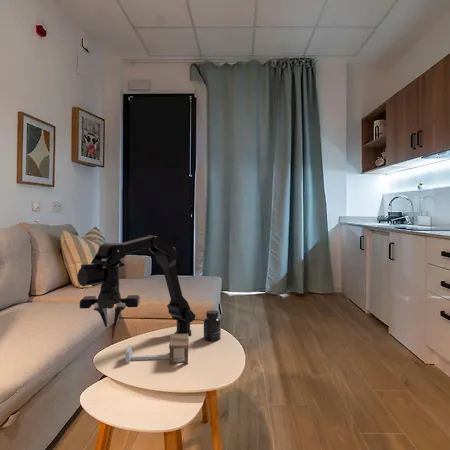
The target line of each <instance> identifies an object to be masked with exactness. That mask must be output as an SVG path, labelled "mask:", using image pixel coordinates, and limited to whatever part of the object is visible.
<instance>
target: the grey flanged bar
mask: <svg viewBox="0 0 450 450" xmlns="http://www.w3.org/2000/svg"><path fill="white" fill-rule="evenodd" d="M145 360H147V361H149V360H170V354H149V355H133V344H128V345H127V348H126V349H125V364H126V365H127V364H130V363H131V361H145ZM174 363H184V358H174Z"/></svg>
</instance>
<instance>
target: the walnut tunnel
mask: <svg viewBox="0 0 450 450" xmlns="http://www.w3.org/2000/svg"><path fill="white" fill-rule="evenodd" d="M169 337H170V339H169V342H168V343H169V344H168V349H169V355H170V359H169V365H170V366H174V364H175V362H174V349H177V348H184V362H183V364H184V365H189V346H190V345H189V344H190V343H189V341H190V340H189V339H190V338H189V337H190V336H189V333H186V334H176V333H171V334H170V336H169Z"/></svg>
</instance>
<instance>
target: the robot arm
mask: <svg viewBox="0 0 450 450" xmlns="http://www.w3.org/2000/svg"><path fill="white" fill-rule="evenodd" d="M146 249H148V250H149V251H150V252H151V253H152V254H153V255H154V258H155V261H156V262H157V263H158V265H159V266H160V267H161V268H162V270H163V271H162V272H163V275H164V278H165V283H166V285H167V289H168V293H169V297H170V301H169V303H168V304H166V307H167V309H168V314H169V315H170V316H171V319H172V320H175V321H176V330H175V334H186V333H189V337H192V329H191V323H193V322H194V321H196V320H195V319H196V314H195V313H194V312H193V311H192V310H191V306H190V304H189V301H187V299H186V298H185V297H184V296H183V292H182V289H181V288H182V287H181V285H180V280H179V276H178V273H177V269H176V262H177V260H178V258H177V250H176V247H174V246H172V245H170V244H169V243H167V242H165V241H164V240H162V239H161V238H160V237H158V236H156V235H146V236H144V237H143V236H142V237H139V238H135V239H132V240H128V241H124V242H104V243H102V244H100V245H99V248H98V250H97V252H96V254H95V256H93V259H92V261H91V262H90V263H87V264H82V263H81V265H80V269H79V270H78V272H77V274H76V275H77V276H76V277H77V278H76V279H77V283H79V285H80V286H81V287H86V286H92V285H97V284H101V285H100V291H99V293H98V297H97V296H96V295H86V296H84V297H83V298H82V299H80V301H79V309H90V308H91V307H92V306H93V305H94V307H93V310H94V311H97V313H99V315H100V317H101V319H102V322H103V324H104V327H105V328H107V327H108V310H110V309H111V310H112V309H113V308H114V307H115V308H114V320H113V322H114V323H113V324H114V325H113V326H114V328H116V327H117V324H118V323H119V318H120V316H121V313H122V311H123V310H125V309H126V308H138V306H139V305H140V303H141V297H140V295H139V294H129V295H127V296H126V297H121V296H122V295H121V293H120V268H121V267H125V266H126V265H125V263H123V262H122V261H121V260H122V259H124V258H125V257H126V256H127V255H129V254H131V253H132V254H133V253H135V252H138V251H142V250H146ZM115 305H116V306H115Z"/></svg>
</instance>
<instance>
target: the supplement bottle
mask: <svg viewBox="0 0 450 450" xmlns="http://www.w3.org/2000/svg"><path fill="white" fill-rule="evenodd" d="M219 316H220V315H219V310H212V309H211V310H207V311H206V315H205V318H204V320H203V340H204V341H206V342H211V343H212V342H218V341H220V340H221V332H222V331H221V329H222V327H221V326H222V321H221V319H220V318H219Z"/></svg>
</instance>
